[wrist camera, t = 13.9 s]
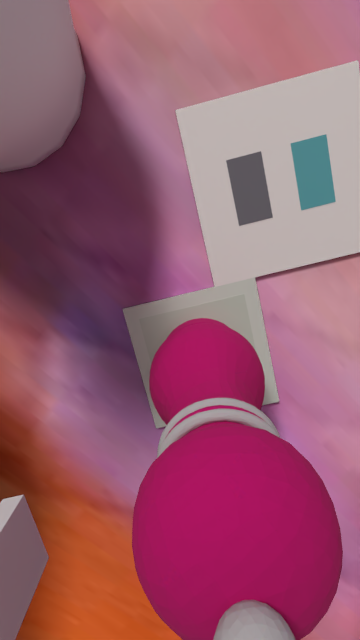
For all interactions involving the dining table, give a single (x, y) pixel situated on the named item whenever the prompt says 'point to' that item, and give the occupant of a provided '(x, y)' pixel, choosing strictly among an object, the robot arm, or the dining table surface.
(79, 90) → the vase
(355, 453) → the dining table surface
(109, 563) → the dining table surface
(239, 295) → the coaster
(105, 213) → the dining table surface
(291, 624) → the pepper mill
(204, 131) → the tile
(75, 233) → the dining table surface
